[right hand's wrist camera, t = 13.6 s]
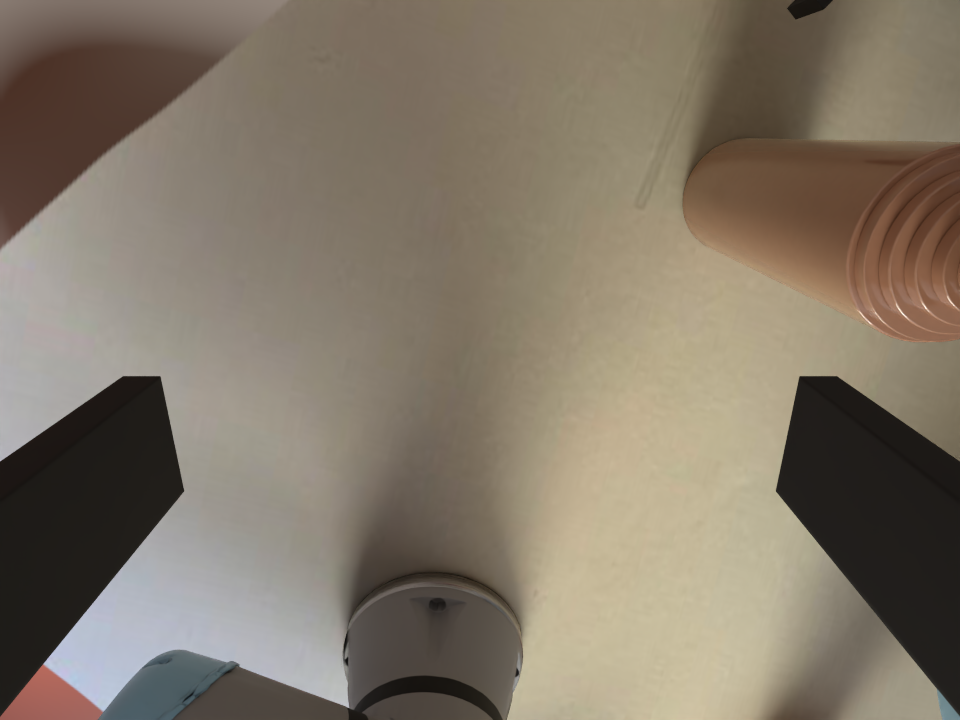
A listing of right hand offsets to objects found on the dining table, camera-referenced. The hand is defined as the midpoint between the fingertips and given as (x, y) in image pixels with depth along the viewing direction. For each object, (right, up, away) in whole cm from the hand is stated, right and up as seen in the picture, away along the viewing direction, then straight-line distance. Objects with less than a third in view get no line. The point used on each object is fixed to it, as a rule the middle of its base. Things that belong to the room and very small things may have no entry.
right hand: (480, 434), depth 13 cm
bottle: (+17, +12, +27) cm, 34 cm away
